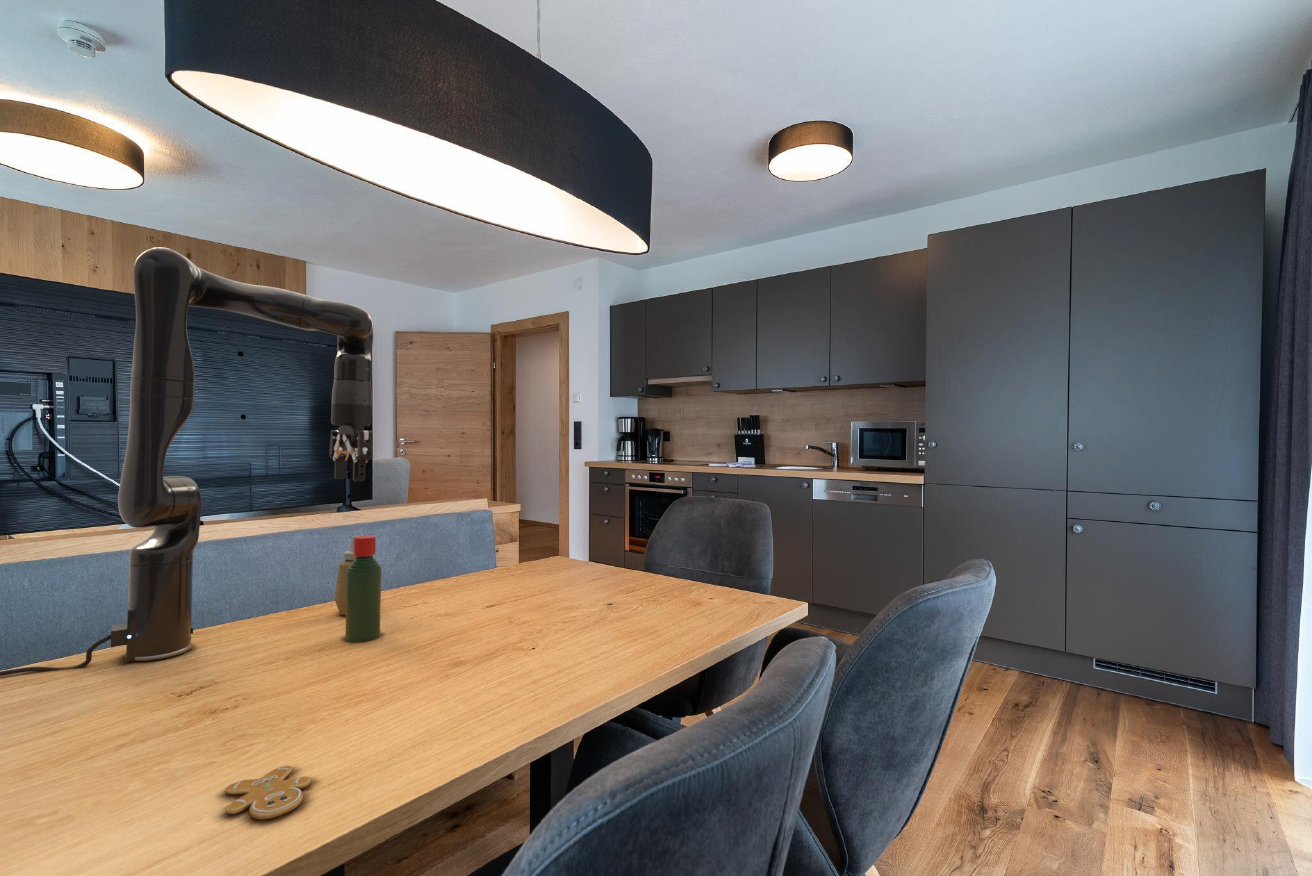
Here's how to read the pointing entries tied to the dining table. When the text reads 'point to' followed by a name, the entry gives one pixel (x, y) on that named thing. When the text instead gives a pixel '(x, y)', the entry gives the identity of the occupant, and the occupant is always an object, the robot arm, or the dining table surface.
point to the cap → (364, 546)
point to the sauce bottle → (363, 600)
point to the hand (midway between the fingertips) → (349, 479)
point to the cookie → (268, 794)
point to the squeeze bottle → (344, 578)
